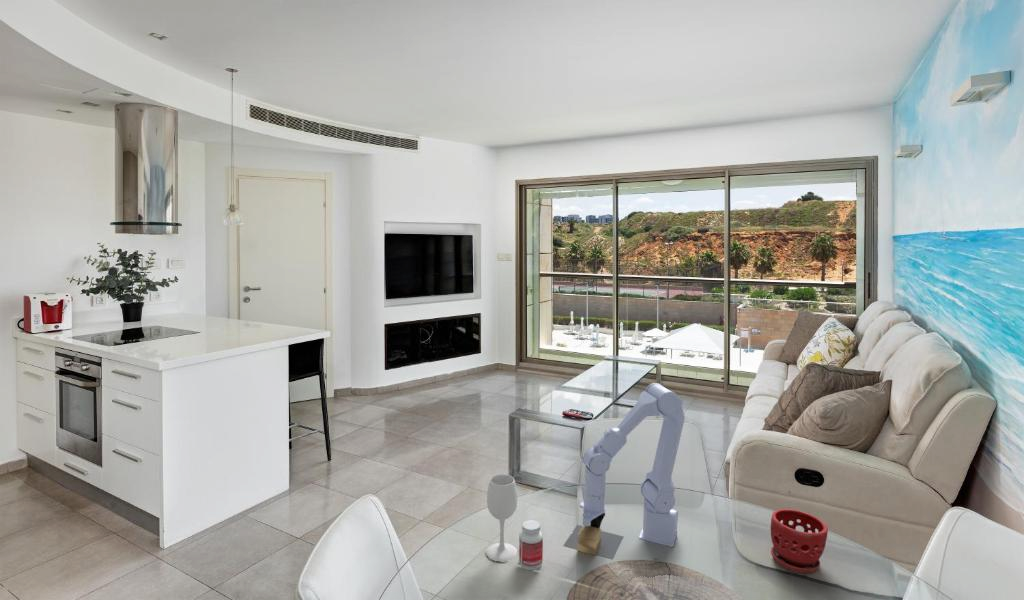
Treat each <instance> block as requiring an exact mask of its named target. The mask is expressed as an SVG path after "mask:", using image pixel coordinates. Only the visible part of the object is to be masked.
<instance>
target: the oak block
mask: <svg viewBox="0 0 1024 600" xmlns="http://www.w3.org/2000/svg"><path fill="white" fill-rule="evenodd" d="M582 526H583V527H582V528H581V530H580V532H579V533H578V550H577V551H578V552H582V553H584V554H588V555H592V556H597V555H596V554H597V552H598V550H599V548H600V546H601V531H602V528H601V527H600V528H596V527H592V526H585V525H582Z"/></svg>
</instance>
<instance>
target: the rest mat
mask: <svg viewBox="0 0 1024 600" xmlns="http://www.w3.org/2000/svg"><path fill="white" fill-rule="evenodd" d="M582 527H583V525H581V524H580V525H579V524H576V526H575V527H574V528H573V530H572V532H573V533H572V532H571V533H572V534H571V533H570V535H569V536H568V538H567V540H566V541H564V544H563V545H562V547H565V548H570V549H573V550H576V551H578V533H579V532H580V530H581V528H582ZM624 538H625V537H624V535H619V534H616V533H611V532H607V531H604V530H601V546H600V548H599V550H598V552H597V554H596V556H600V557H602V558H605V559H610V560H613V559H614V557H616V556H615V555H616V553H617V551H618V549H619V547H620V545H621V544H622V541H623V540H624Z"/></svg>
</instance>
